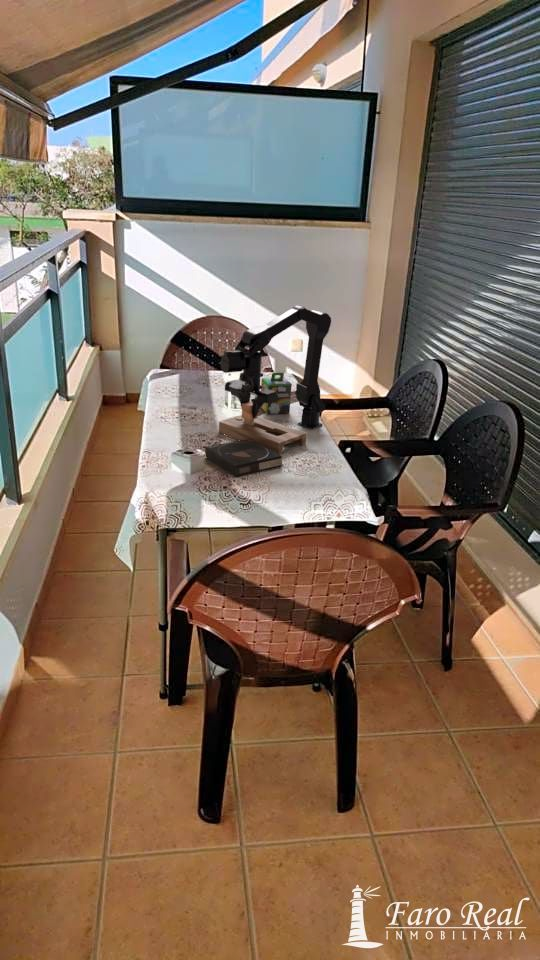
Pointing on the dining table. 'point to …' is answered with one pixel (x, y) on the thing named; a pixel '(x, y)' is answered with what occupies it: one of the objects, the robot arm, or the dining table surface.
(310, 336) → the robot arm
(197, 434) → the dining table surface
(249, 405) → the copper peg
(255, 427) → the keyhole plate
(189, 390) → the dining table surface
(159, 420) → the dining table surface
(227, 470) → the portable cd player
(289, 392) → the chalk box
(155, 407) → the dining table surface
